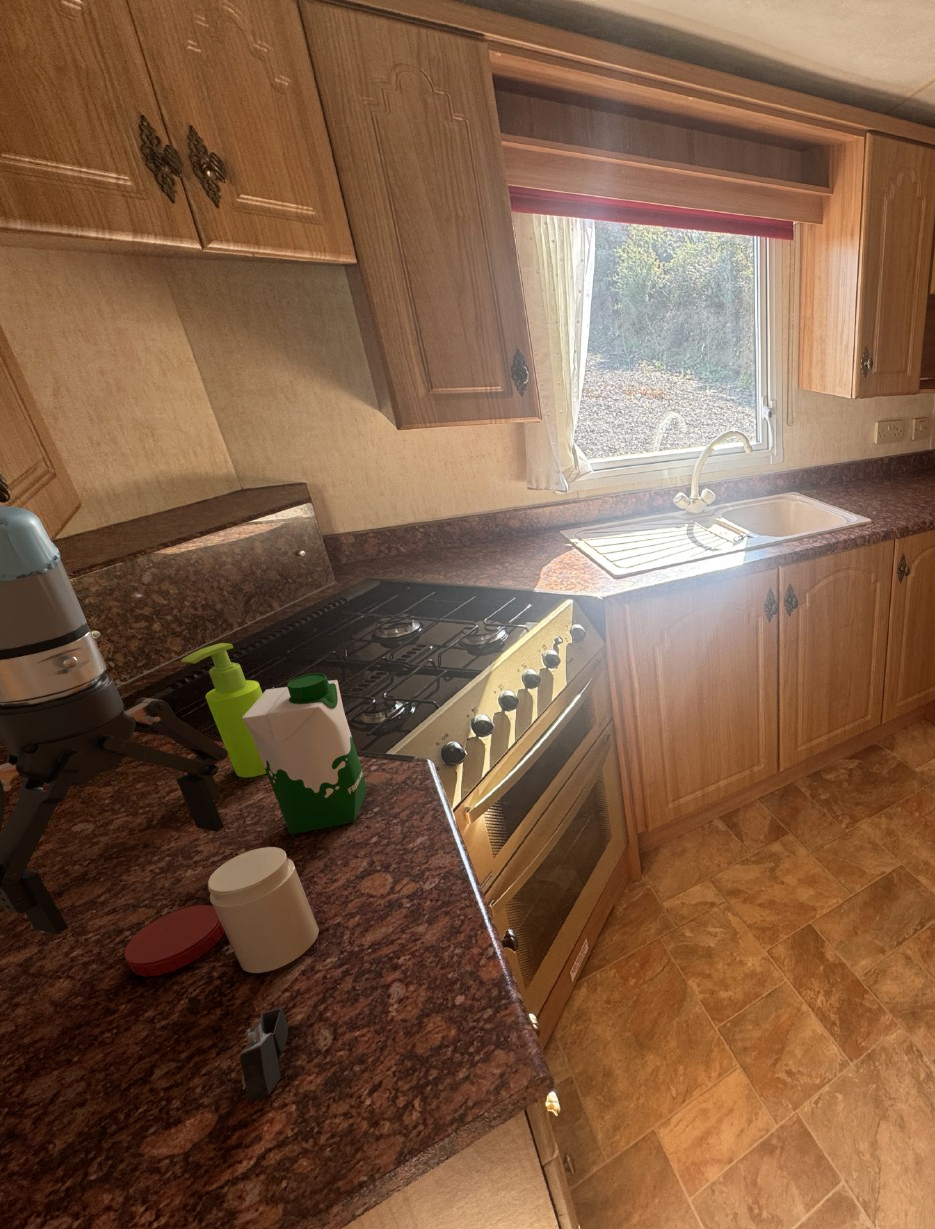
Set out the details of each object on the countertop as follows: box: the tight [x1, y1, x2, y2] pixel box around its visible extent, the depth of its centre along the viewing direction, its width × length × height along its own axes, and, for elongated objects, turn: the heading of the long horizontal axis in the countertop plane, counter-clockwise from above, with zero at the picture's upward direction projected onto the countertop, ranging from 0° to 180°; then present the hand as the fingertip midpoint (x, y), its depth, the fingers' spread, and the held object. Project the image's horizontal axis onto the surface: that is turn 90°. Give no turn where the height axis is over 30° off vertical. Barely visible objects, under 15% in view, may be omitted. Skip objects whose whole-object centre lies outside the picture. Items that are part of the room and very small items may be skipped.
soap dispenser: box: [180, 642, 267, 778], centre depth 93 cm, size 6×7×20 cm
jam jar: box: [207, 846, 320, 974], centre depth 66 cm, size 7×7×11 cm
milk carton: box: [242, 672, 369, 835], centre depth 84 cm, size 9×9×20 cm
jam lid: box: [124, 904, 225, 977], centre depth 68 cm, size 7×7×2 cm
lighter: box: [239, 1007, 289, 1105], centre depth 56 cm, size 8×2×5 cm
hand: (139, 873), depth 64 cm, fingers open, 13 cm apart
